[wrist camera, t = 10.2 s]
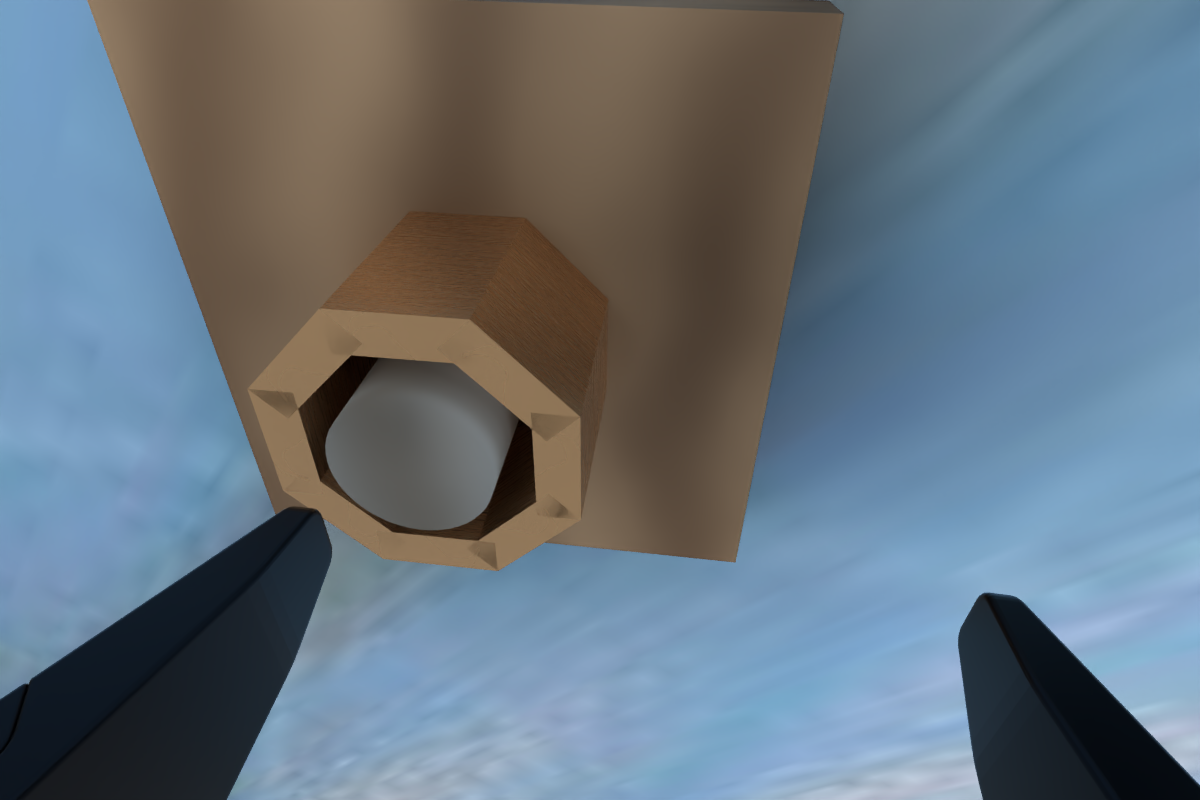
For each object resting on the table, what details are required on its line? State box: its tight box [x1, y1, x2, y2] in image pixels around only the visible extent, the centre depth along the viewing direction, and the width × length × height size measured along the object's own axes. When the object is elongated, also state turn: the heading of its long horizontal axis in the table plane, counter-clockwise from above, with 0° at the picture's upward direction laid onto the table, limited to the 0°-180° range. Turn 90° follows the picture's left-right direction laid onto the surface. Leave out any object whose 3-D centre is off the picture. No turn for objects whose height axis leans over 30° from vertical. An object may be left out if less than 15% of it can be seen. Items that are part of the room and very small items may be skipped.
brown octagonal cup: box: [247, 211, 608, 571], centre depth 17 cm, size 7×7×5 cm
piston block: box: [87, 0, 844, 562], centre depth 18 cm, size 16×16×8 cm
